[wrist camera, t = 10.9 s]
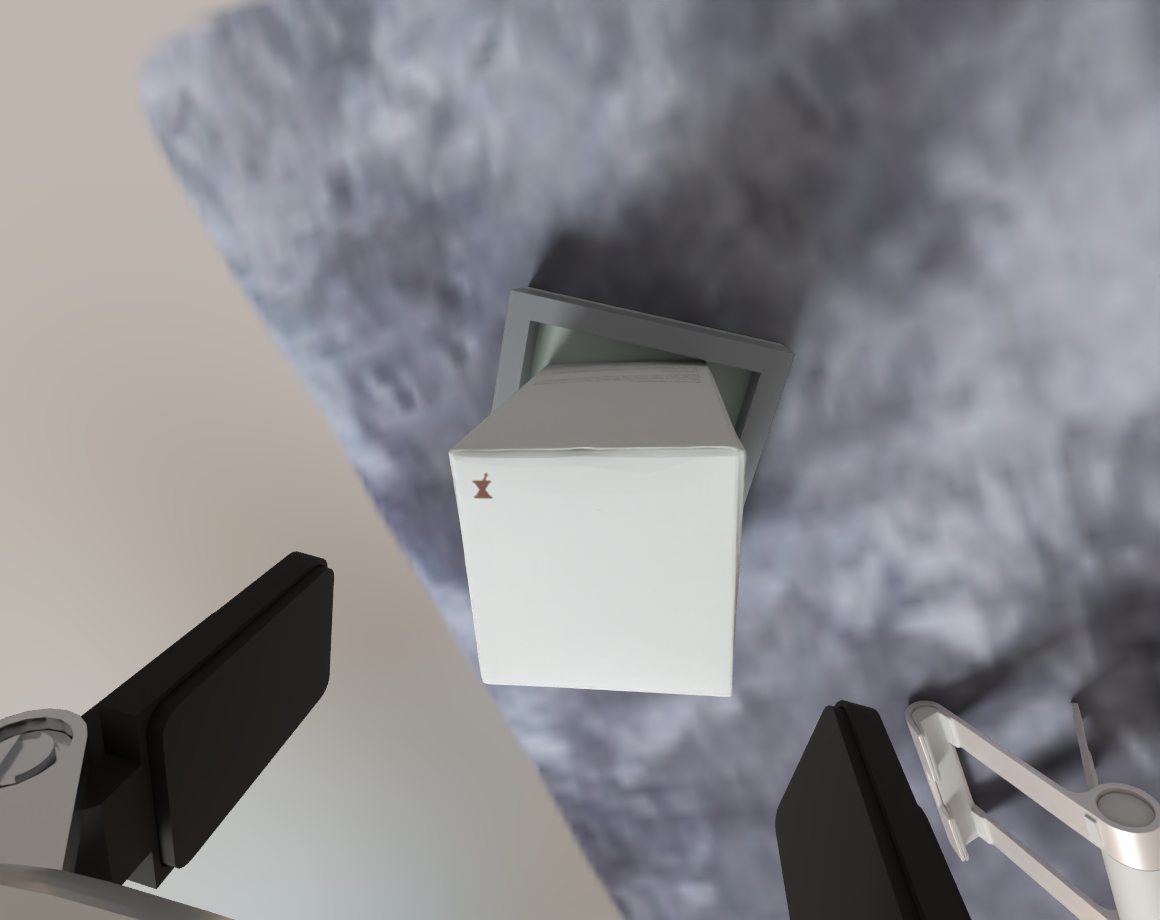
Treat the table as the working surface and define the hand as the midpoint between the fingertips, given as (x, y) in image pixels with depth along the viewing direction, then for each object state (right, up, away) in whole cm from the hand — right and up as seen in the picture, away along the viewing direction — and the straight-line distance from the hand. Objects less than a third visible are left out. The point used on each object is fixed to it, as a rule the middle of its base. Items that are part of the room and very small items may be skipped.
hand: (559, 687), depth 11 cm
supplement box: (+3, +5, +16) cm, 17 cm away
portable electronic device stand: (+22, -11, +20) cm, 32 cm away
